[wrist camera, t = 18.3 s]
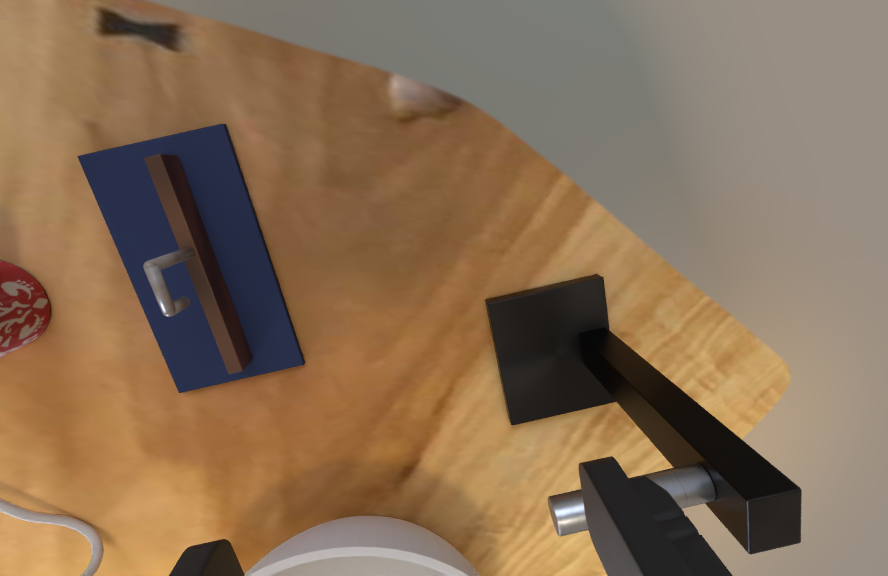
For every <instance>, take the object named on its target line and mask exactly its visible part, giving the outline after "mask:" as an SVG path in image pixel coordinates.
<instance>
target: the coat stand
mask: <svg viewBox="0 0 888 576" xmlns="http://www.w3.org/2000/svg"><path fill="white" fill-rule="evenodd" d="M485 301H486V306H487V311H488V317H489V322H490V327H491V332H492V337H493V342H494V347H495V352H496V357H497V362H498V367H499V372H500V377H501V382H502V387H503V392H504V397H505V402H506V407H507V412H508V417H509V420H510V423H511V425H516V424H521V423H525V422H530V421H534V420H538V419H543V418H547V417H552V416H556V415H560V414H565V413H569V412H573V411H578V410H582V409H587V408H591V407H595V406H600V405H604V404H609V403H613V402H617V403H618V404H619V405H620V406H621V407H622V408H623V410H624V411H625V412H626V413H627V414H628V415H629V417H630V418H631V419H632V420H633V421H634V422H635V423H636V425H637V426H638V427H639V428H640V429H641V430H642V431H643V433H644V434H645V435H646V436H647V437H648V438H649V440H650V441H651V442H652V443H653V444H654V445H655V446H656V448H657V449H658V450H659V451H660V452H661V453H662V454H663V456H664V457H665V458H666V459H667V460H668V461H669V462H670V464H671V465H672V466H673V467H674V468H671V469H667V470H663V471H658V472H654V473H649V474H645V475H641V476H636V477H632V478H628V479H633V478H637V477H642V476H646V477H647V478H649V479H650V480H652V481H653V482H655V483H656V484H658V485H659V486H661V487H662V488H664V489H665V490H667V491H668V492H669V494H670V495H671V496H672V498H673V499H674V500H675V501H676V503H677V504H678V505H679V507H680V508H686V507H690V506H694V505H699V504H703V503H705V504H706V505H707V506H708V507H709V508H710V509H711V511H712V512H713V513H714V514H715V515H716V516H717V518H718V519H719V520H720V521H721V522H722V523H723V524H724V526H725V527H726V528H727V529H728V530H729V531H730V532H731V534H732V535H733V536H734V537H735V538H736V539H737V540H738V542H739V543H740V544H741V545H742V546H743V547H744V549H745V550H746V551H747V552H748V553H749V554H754V553H759V552H763V551H768V550H772V549H776V548H781V547H785V546H789V545H793V544H797V543H800V542H801V489H800V487H798V486H797V485H796V484H795V483H793V482H792V481H791V480H790V479H789V478H787V477H786V476H785V475H784V474H783V473H781V472H780V471H779V470H778V469H777V468H775V467H774V466H773V465H771V464H770V463H769V462H768V461H767V460H766V459H764V458H763V457H762V456H761V455H760V454H758V453H757V452H756V451H755V450H754V449H752V448H751V447H750V446H749V445H747V444H746V443H745V442H744V441H743V440H741V439H740V438H739V437H738V436H737V435H735V434H734V433H733V432H732V431H730V430H729V429H728V428H727V427H726V426H724V425H723V424H722V423H721V422H720V421H718V420H717V419H716V418H715V417H714V416H712V415H711V414H710V413H709V412H707V411H706V410H705V409H704V408H703V407H701V406H700V405H699V404H698V403H697V402H695V401H694V400H693V399H692V398H691V397H689V396H688V395H687V394H686V393H684V392H683V391H682V390H681V389H680V388H678V387H677V386H676V385H675V384H674V383H672V382H671V381H670V380H669V379H667V378H666V377H665V376H664V375H663V374H661V373H660V372H659V371H658V370H657V369H655V368H654V367H653V366H652V365H651V364H649V363H648V362H647V361H646V360H644V359H643V358H642V357H641V356H640V355H638V354H637V353H636V352H635V351H634V350H632V349H631V348H630V347H629V346H627V345H626V344H625V343H624V342H623V341H621V340H620V339H619V338H618V337H617V336H615V335H614V334H613V333H612V332H611V331H610V330H609V322H608V314H607V305H606V297H605V288H604V280H603V277H601V276H600V275H598V274H597V275H592V276H588V277H583V278H579V279H574V280H570V281H566V282H561V283H557V284H552V285H548V286H544V287H539V288H535V289H530V290H526V291H521V292H517V293H513V294H508V295H504V296H499V297H495V298H491V299H486V300H485ZM548 505H549V509H550V513H551V517H552V520H553V523H554V526H555V529H556V531H557V534H558V535H559V536H564V535H568V534H573V533H577V532H581V531H586V530H589V529H588V526H587V522H586V516H585V510H584V503H583V496H582V489H580V490H575V491H571V492H567V493H562V494H558V495H554V496H549V497H548Z"/></svg>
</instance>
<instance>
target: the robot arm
mask: <svg viewBox="0 0 888 576" xmlns="http://www.w3.org/2000/svg"><path fill="white" fill-rule="evenodd" d="M579 475H580V482H581V489H582V496H583V503H584V510H585V516H586V522H587V526H588V529H589V533H590V536H591V539H592V542H593V544H594V547H595V549H596V551H597V554H598V556H599V558H600V560H601V562H602V564H603V566H604V569H605V571H606V573H607V575H608V576H732V574H731V573H730V572H729V571H728V569H727V568H726V567H725V565H724V564H723V563H722V561H721V560H720V559H719V558H718V556H717V555H716V554H715V552H714V551H713V550H712V549H711V547H710V546H709V544H708V543H707V542H706V541H705V539H704V538H703V537H702V535H699V533H698V531H697V529H696V528H695V526H694V525H693V524H692V522H691V521H690V520H689V518H688V517H687V516H685V515H684V512H683V511H682V509H681V508H680V507H679V505H678V504H677V503H676V501H675V500H674V499H673V498H672V496H671V495H670V494H669V492H668V491H667V490H665V489H664V488H662V487H661V486H659V485H658V484H656V483H655V482H653V481H652V480H650V479H649V478H647V477H646V476H642V477H637V478H633V479H628V477H627V476H626V474H625V473H624V471H623V470H622V468H621V467H620V465H619V464H618V462H617V461H616V459H615V458H614V457H606V458H602V459H597V460H592V461H588V462H583V463H580V464H579ZM169 576H245V575H244V572H243V570H242V568H241V566H240V563H239V561H238V559H237V557H236V554H235V552H234V550H233V547H232V545H231V543H230V542H229V541H228V540H226V539H222V540H217V541H213V542H208V543H203V544H199V545H194V546H191V547H188V548H187V549H186V550H185V551H184V552H183V554H182V555H181V557H180V558H179V560H178V562H177V563H176V565H175V567H174V568H173V570H172V572H171V573H170V575H169Z"/></svg>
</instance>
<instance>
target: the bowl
mask: <svg viewBox="0 0 888 576" xmlns="http://www.w3.org/2000/svg"><path fill="white" fill-rule="evenodd" d="M245 576H480V574H479V573H478V572H477V570H476V569H475V568H474V567H473V565H472V564H471V563H470V562H469V561H468V560H467V559H466V558H465V557H464V556H463V555H462V554H461V553H460V552H459V551H458V550H457V549H456V548H454V547H453V546H452V545H451V544H450V543H448V542H447V541H445V540H444V539H443V538H441V537H440V536H438V535H436V534H435V533H433V532H431V531H429V530H427V529H425V528H423V527H421V526H419V525H416V524H414V523H411V522H408V521H404V520H401V519H396V518H391V517H383V516H353V517H346V518H340V519H336V520H332V521H328V522H325V523H322V524H319V525H316V526H314V527H311V528H309V529H307V530H305V531H303V532H301V533H299V534H297V535H295V536H293V537H291V538H290V539H288V540H286V541H285V542H283V543H282V544H280V545H279V546H277V547H276V548H275V549H273V550H272V551H270V552H269V553H268V554H267V555H265V556H264V557H263V558H262V559H261V560H260V561H258V562H257V563H256V564H255V565H254V566H253V567H252V568H251V569H249V570H248V571H247V572H246V574H245Z"/></svg>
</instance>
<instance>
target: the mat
mask: <svg viewBox="0 0 888 576" xmlns="http://www.w3.org/2000/svg"><path fill="white" fill-rule="evenodd" d="M158 154H166V155H178V157H179V160H180V162H181V165H182V168H183V170H184V173H185V176H186V179H187V181H188V184H189V187H190V189H191V192H192V195H193V197H194V200H195V203H196V205H197V208H198V211H199V214H200V216H201V219H202V222H203V224H204V227H205V230H206V232H207V235H208V238H209V240H210V243H211V246H212V249H213V251H214V254H215V257H216V259H217V262H218V265H219V267H220V270H221V273H222V276H223V278H224V281H225V284H226V286H227V289H228V292H229V294H230V297H231V300H232V302H233V305H234V308H235V311H236V313H237V316H238V319H239V321H240V324H241V327H242V329H243V332H244V335H245V337H246V340H247V343H248V346H249V348H250V351H251V354H252V356H253V360H252V361H251V362H250V363H249V364H248V365H247V367H246V368H245V369H244V370H243V371H240V372H236V373H232V374H228V371H227V369H226V366H225V364H224V361H223V358H222V356H221V353H220V351H219V348H218V346H217V343H216V341H215V338H214V336H213V333H212V330H211V328H210V325H209V323H208V320H207V318H206V315H205V313H204V310H203V307H202V305H201V302H200V300H199V297H198V295H197V292H196V290H195V287H194V285H193V282H192V279H191V277H190V274H189V272H188V269H187V267H186V264H185V262H184V261H182V262H180V263H177V264H174V265H172V266H169V267H167V268H164V269H162V270H161V273H162V275H163V278H164V280H165V283H166V285H167V287H168V290H169V292H170V295H171V297H172V300H173V301H175V300H176V299H178V298H180V297H187V298H188V299H189V300H190V305H189V306H188V307H187V308H185V309H183V310H182V311H180V312H179V313H177V314H175V315H174V316H171V317H167V316H165V315H163V313H162V311H161V308H160V306H159V304H158V301H157V299H156V296H155V294H154V292H153V289H152V287H151V285H150V282H149V280H148V277H147V275H146V273H145V270H144V268H143V265H144V263H145V262H146V261H149V260H152V259H154V258H157V257H160V256H163V255H166V254H169V253H172V252H175V251H178V250H180V249H179V246H178V244H177V241H176V239H175V236H174V234H173V231H172V229H171V226H170V223H169V221H168V218H167V216H166V213H165V211H164V208H163V206H162V203H161V201H160V198H159V195H158V193H157V190H156V188H155V185H154V183H153V180H152V178H151V175H150V173H149V170H148V167H147V165H146V162H145V160H144V158H145V157H149V156H153V155H158ZM78 158H79V161H80V163H81V165H82V168H83V170H84V172H85V175H86V177H87V179H88V182H89V184H90V186H91V189H92V191H93V193H94V196H95V198H96V200H97V203H98V205H99V207H100V210H101V212H102V214H103V217H104V219H105V221H106V224H107V226H108V228H109V231H110V233H111V235H112V238H113V240H114V242H115V245H116V247H117V249H118V252H119V254H120V256H121V259H122V261H123V263H124V266H125V268H126V270H127V273H128V275H129V277H130V280H131V282H132V284H133V287H134V289H135V291H136V294H137V296H138V298H139V301H140V303H141V305H142V308H143V310H144V312H145V315H146V317H147V319H148V321H149V324H150V326H151V328H152V331H153V333H154V335H155V338H156V340H157V342H158V345H159V347H160V349H161V352H162V354H163V356H164V359H165V361H166V363H167V366H168V368H169V370H170V373H171V375H172V377H173V380H174V382H175V384H176V387H177V389H178V391H179V393H181V392H186V391H190V390H195V389H199V388H204V387H208V386H212V385H217V384H221V383H226V382H230V381H234V380H239V379H243V378H248V377H252V376H256V375H261V374H265V373H270V372H274V371H278V370H283V369H287V368H292V367H296V366H300V365H304V363H305V361H304V358H303V355H302V352H301V349H300V346H299V343H298V340H297V337H296V334H295V331H294V328H293V325H292V322H291V319H290V316H289V313H288V310H287V307H286V304H285V301H284V298H283V295H282V292H281V289H280V286H279V283H278V280H277V277H276V274H275V271H274V268H273V265H272V262H271V259H270V256H269V253H268V250H267V247H266V244H265V241H264V238H263V235H262V232H261V229H260V226H259V223H258V220H257V217H256V214H255V211H254V208H253V205H252V202H251V199H250V196H249V193H248V190H247V187H246V184H245V181H244V178H243V175H242V172H241V169H240V166H239V163H238V160H237V157H236V154H235V151H234V148H233V145H232V142H231V139H230V136H229V133H228V130H227V127H226V124H219V125H215V126H210V127H206V128H201V129H197V130H192V131H188V132H183V133H179V134H174V135H170V136H165V137H161V138H157V139H152V140H148V141H143V142H139V143H134V144H130V145H125V146H121V147H116V148H112V149H107V150H103V151H98V152H94V153H89V154H85V155H80V156H78Z"/></svg>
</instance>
